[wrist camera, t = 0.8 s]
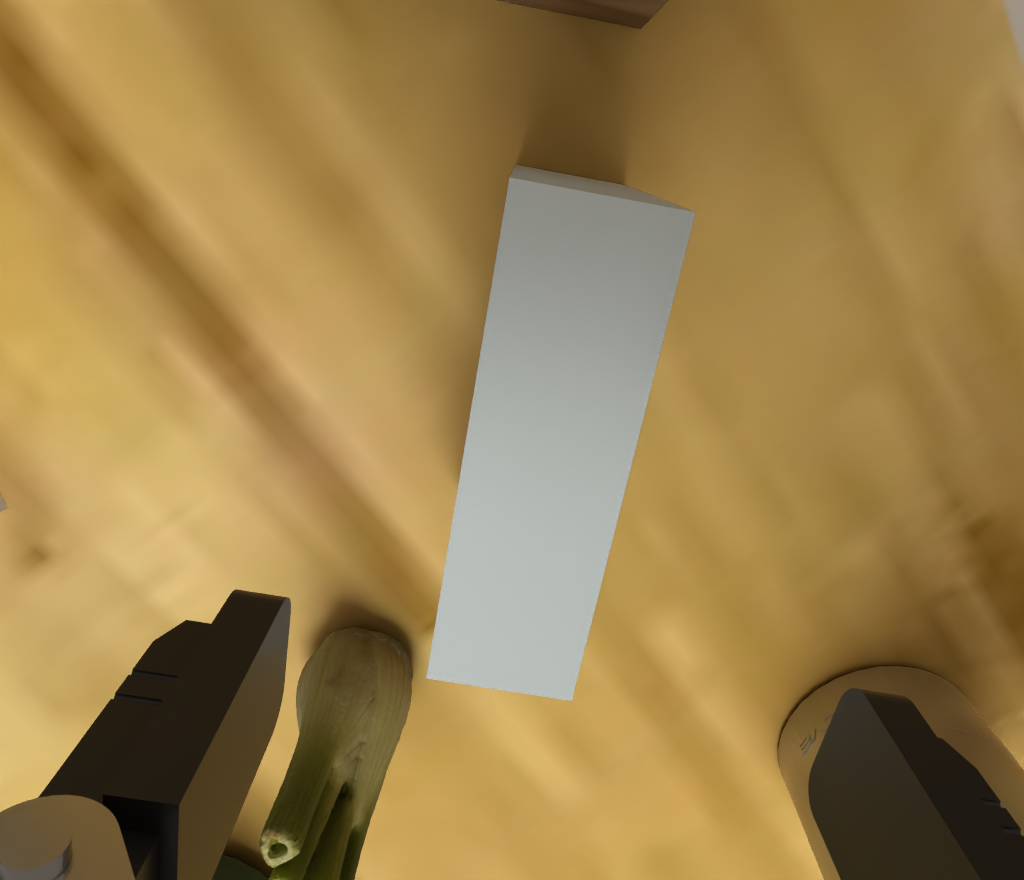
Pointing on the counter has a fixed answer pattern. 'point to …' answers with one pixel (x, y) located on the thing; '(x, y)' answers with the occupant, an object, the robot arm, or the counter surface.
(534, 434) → the plain gray rectangular block
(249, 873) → the character mug
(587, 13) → the walnut stand
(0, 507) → the grater
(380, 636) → the fennel bulb
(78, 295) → the counter surface
